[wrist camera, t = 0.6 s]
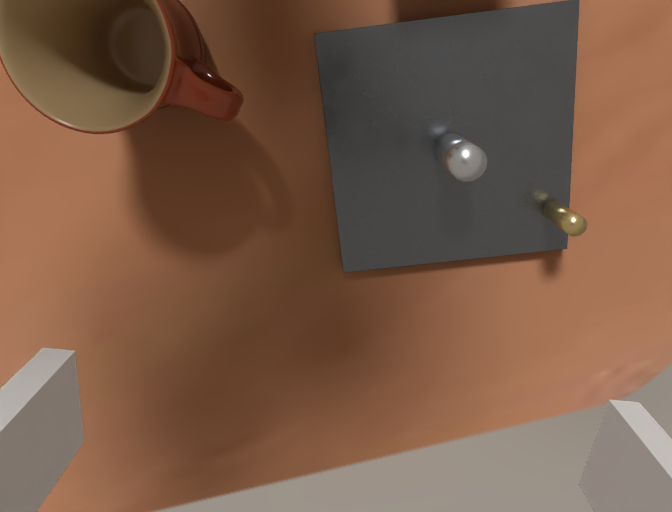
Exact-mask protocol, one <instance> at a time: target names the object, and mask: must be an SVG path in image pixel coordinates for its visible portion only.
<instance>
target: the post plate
mask: <svg viewBox="0 0 672 512" xmlns="http://www.w3.org/2000/svg"><path fill="white" fill-rule="evenodd" d="M578 18H579V0H568V1H560V2H552V3H545V4H537V5H530V6H522V7H514V8H507V9H499V10H491V11H484V12H476V13H468V14H461V15H453V16H445V17H438V18H430V19H422V20H415V21H407V22H399V23H392V24H384V25H376V26H369V27H361V28H353V29H346V30H338V31H331V32H323V33H315V34H314V37H315V45H316V53H317V61H318V69H319V77H320V85H321V94H322V102H323V110H324V118H325V126H326V134H327V142H328V150H329V159H330V167H331V175H332V183H333V191H334V199H335V207H336V216H337V224H338V232H339V240H340V248H341V256H342V264H343V272H353V271H363V270H372V269H381V268H391V267H400V266H410V265H419V264H428V263H438V262H447V261H457V260H466V259H476V258H485V257H494V256H504V255H513V254H523V253H532V252H541V251H551V250H560V249H567V242H568V234H569V235H571V236H579V235H581V234H582V233H583V232H584V231H585V230H586V228H587V221H586V219H585V218H583V217H582V216H580V215H579V214H577V213H576V212H574V211H572V210H571V209H569V202H570V181H571V161H572V140H573V120H574V100H575V79H576V59H577V39H578Z"/></svg>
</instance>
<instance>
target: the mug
mask: <svg viewBox="0 0 672 512" xmlns="http://www.w3.org/2000/svg"><path fill="white" fill-rule="evenodd" d="M204 59H205V48H204V43H203V39H202V36H201V33H200V30H199V28H198V26H197V24H196V22H195V20H194V18H193V17H192V15H191V14H190V12H189V11H188V10H187V8H186V7H185V6H184V5H183V4H182V3H181V2H180V1H179V0H0V60H1V63H2V65H3V67H4V69H5V71H6V73H7V75H8V77H9V78H10V80H11V82H12V83H13V85H14V86H15V87H16V89H17V90H18V91H19V93H20V94H21V95H22V96H23V97H24V99H25V100H26V101H27V102H28V103H29V104H30V105H31V106H33V107H34V108H35V109H36V110H37V111H39V112H40V113H41V114H42V115H44V116H45V117H47V118H48V119H50V120H52V121H53V122H55V123H57V124H59V125H61V126H64V127H66V128H69V129H72V130H75V131H79V132H84V133H91V134H109V133H115V132H119V131H123V130H126V129H128V128H131V127H133V126H135V125H137V124H139V123H140V122H142V121H143V120H145V119H147V118H148V117H149V116H151V115H152V114H153V113H154V112H155V111H156V109H160V108H164V107H167V106H170V105H175V106H183V107H187V108H190V109H193V110H195V111H197V112H200V113H202V114H204V115H207V116H209V117H212V118H215V119H218V120H223V121H228V120H232V119H234V118H235V117H236V116H237V115H238V113H239V111H240V109H241V106H242V103H243V95H242V93H241V91H240V90H239V89H237V88H236V87H235V86H233V85H232V84H230V83H229V82H227V81H226V80H224V79H223V78H221V77H220V76H219V75H218V74H217V73H216V72H215V71H213V70H212V69H211V68H210V67H209V66H208V65H206V64H205V63H204Z"/></svg>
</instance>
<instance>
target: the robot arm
mask: <svg viewBox="0 0 672 512" xmlns="http://www.w3.org/2000/svg"><path fill="white" fill-rule="evenodd" d="M83 443H84V435H83V425H82V415H81V404H80V394H79V384H78V374H77V364H76V354H75V351H73V350H62V349H51V348H42V349H41V350H40V351H39V352H38V353H37V354H36V355H35V356H34V357H33V358H32V359H31V360H30V361H29V362H28V363H27V364H26V365H24V366H23V367H22V368H21V369H20V370H19V371H18V372H17V373H16V374H15V375H14V376H13V377H12V378H11V379H10V380H9V381H8V382H7V383H6V384H5V385H4V386H3V387H1V388H0V512H37V511H38V509H39V508H40V506H41V505H42V503H43V502H44V500H45V499H46V497H47V496H48V494H49V493H50V492H51V490H52V489H53V487H54V486H55V484H56V483H57V481H58V480H59V478H60V477H61V475H62V474H63V472H64V471H65V469H66V468H67V466H68V465H69V463H70V462H71V461H72V459H73V458H74V456H75V455H76V453H77V452H78V450H79V449H80V447H81V446H82V444H83ZM578 485H579V487H580V488H581V490H582V492H583V494H584V495H585V497H586V499H587V501H588V502H589V504H590V506H591V508H592V510H593V511H594V512H672V439H671V438H670V437H669V436H668V435H667V434H666V432H665V431H664V430H663V429H662V428H661V427H660V426H659V425H658V423H657V422H656V421H655V420H654V419H653V418H652V417H651V415H650V414H649V413H648V412H647V411H646V410H645V409H644V408H643V406H642V405H641V404H640V403H639V402H628V401H618V400H609V401H608V404H607V407H606V409H605V412H604V415H603V418H602V421H601V423H600V426H599V429H598V432H597V434H596V437H595V440H594V443H593V445H592V448H591V451H590V454H589V456H588V460H587V462H586V465H585V468H584V470H583V473H582V476H581V479H580V481H579V484H578Z"/></svg>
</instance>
